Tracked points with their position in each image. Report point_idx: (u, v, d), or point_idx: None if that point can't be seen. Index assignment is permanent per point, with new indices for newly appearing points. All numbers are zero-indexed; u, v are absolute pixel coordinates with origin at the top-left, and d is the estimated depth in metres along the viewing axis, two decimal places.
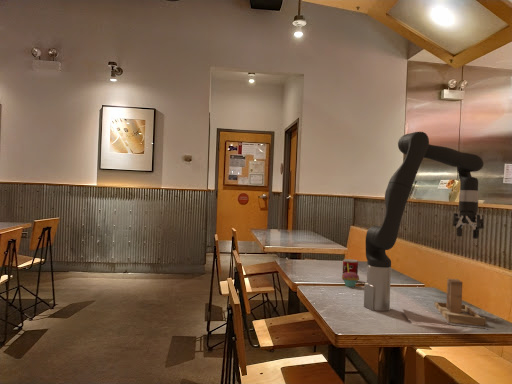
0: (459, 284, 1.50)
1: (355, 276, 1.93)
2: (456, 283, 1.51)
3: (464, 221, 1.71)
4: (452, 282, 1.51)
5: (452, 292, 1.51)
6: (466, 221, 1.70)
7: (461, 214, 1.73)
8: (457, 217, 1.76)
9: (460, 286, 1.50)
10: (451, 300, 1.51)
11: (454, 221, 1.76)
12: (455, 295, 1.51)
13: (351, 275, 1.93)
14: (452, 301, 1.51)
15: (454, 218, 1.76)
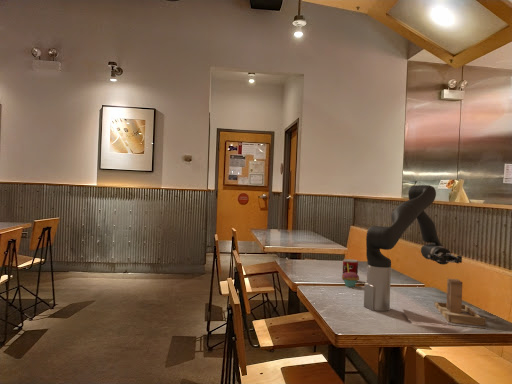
0: (459, 284, 1.50)
1: (355, 276, 1.93)
2: (456, 283, 1.51)
3: (444, 255, 1.69)
4: (452, 282, 1.51)
5: (452, 292, 1.51)
6: (446, 255, 1.68)
7: (437, 253, 1.72)
8: None
9: (460, 286, 1.50)
10: (451, 300, 1.51)
11: (432, 254, 1.69)
12: (455, 295, 1.51)
13: (351, 275, 1.93)
14: (452, 301, 1.51)
15: (431, 254, 1.70)
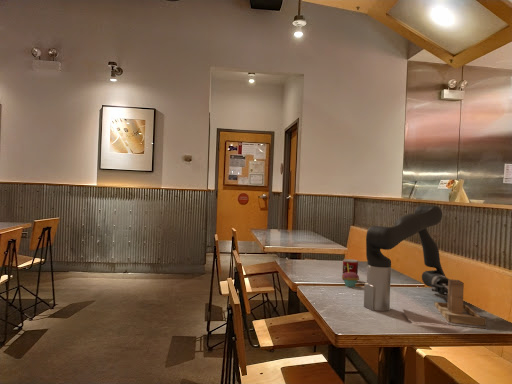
0: (461, 285, 1.49)
1: (355, 276, 1.93)
2: (457, 284, 1.49)
3: None
4: (453, 283, 1.50)
5: (453, 293, 1.49)
6: None
7: (438, 284, 1.67)
8: None
9: (462, 287, 1.49)
10: (452, 301, 1.50)
11: (439, 286, 1.62)
12: (456, 296, 1.49)
13: (351, 275, 1.93)
14: (453, 302, 1.49)
15: (437, 285, 1.63)
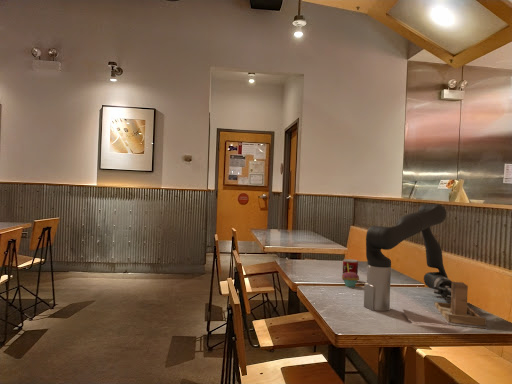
0: (465, 288, 1.44)
1: (355, 276, 1.93)
2: (461, 286, 1.45)
3: None
4: (457, 285, 1.45)
5: (457, 296, 1.45)
6: None
7: (441, 286, 1.62)
8: None
9: (465, 289, 1.44)
10: (456, 304, 1.45)
11: (442, 289, 1.57)
12: (460, 299, 1.45)
13: (351, 275, 1.93)
14: (456, 306, 1.45)
15: (439, 288, 1.59)
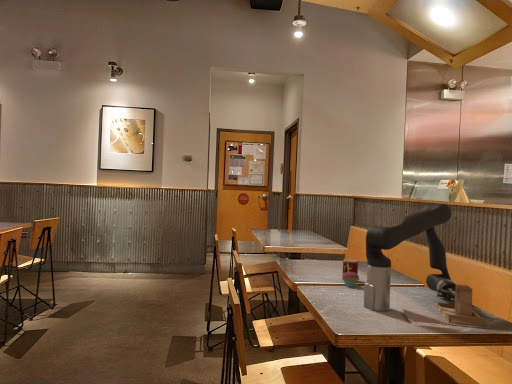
0: (469, 291, 1.39)
1: (355, 276, 1.93)
2: (466, 290, 1.39)
3: None
4: (461, 289, 1.40)
5: (461, 299, 1.40)
6: None
7: (444, 289, 1.57)
8: None
9: (470, 293, 1.39)
10: (460, 308, 1.40)
11: (446, 292, 1.52)
12: (465, 302, 1.39)
13: (351, 275, 1.93)
14: (461, 309, 1.40)
15: (443, 291, 1.53)
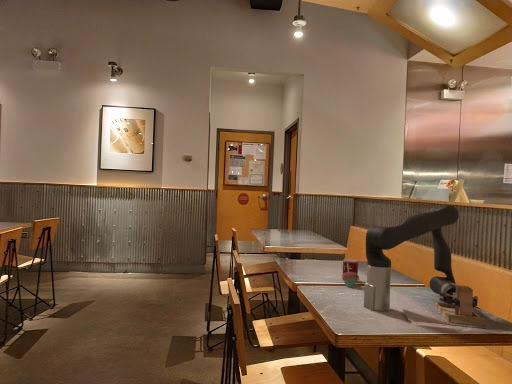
0: (470, 292, 1.38)
1: (355, 276, 1.93)
2: (466, 290, 1.39)
3: None
4: (461, 289, 1.39)
5: (461, 300, 1.39)
6: None
7: (449, 293, 1.50)
8: None
9: (471, 293, 1.38)
10: (460, 309, 1.39)
11: (446, 295, 1.46)
12: (465, 303, 1.38)
13: (351, 275, 1.93)
14: (461, 310, 1.39)
15: (444, 294, 1.47)
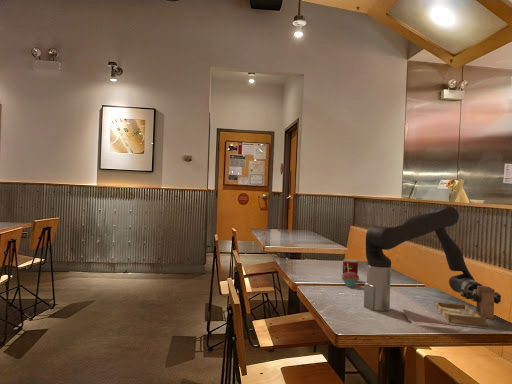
0: (491, 292, 1.45)
1: (355, 276, 1.93)
2: (488, 291, 1.45)
3: None
4: (484, 290, 1.45)
5: (484, 300, 1.45)
6: None
7: (471, 290, 1.56)
8: None
9: (492, 294, 1.45)
10: (483, 308, 1.45)
11: (466, 291, 1.53)
12: (487, 303, 1.45)
13: (351, 275, 1.93)
14: (483, 310, 1.45)
15: (464, 290, 1.54)
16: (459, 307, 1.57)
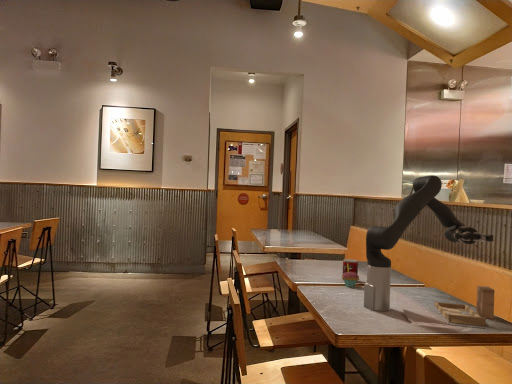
0: (491, 292, 1.45)
1: (355, 276, 1.93)
2: (488, 291, 1.45)
3: (471, 234, 1.65)
4: (484, 290, 1.45)
5: (484, 300, 1.45)
6: (474, 234, 1.65)
7: None
8: None
9: (492, 294, 1.45)
10: (483, 308, 1.45)
11: (457, 233, 1.66)
12: (487, 303, 1.45)
13: (351, 275, 1.93)
14: (483, 310, 1.45)
15: (456, 232, 1.67)
16: (459, 307, 1.57)
